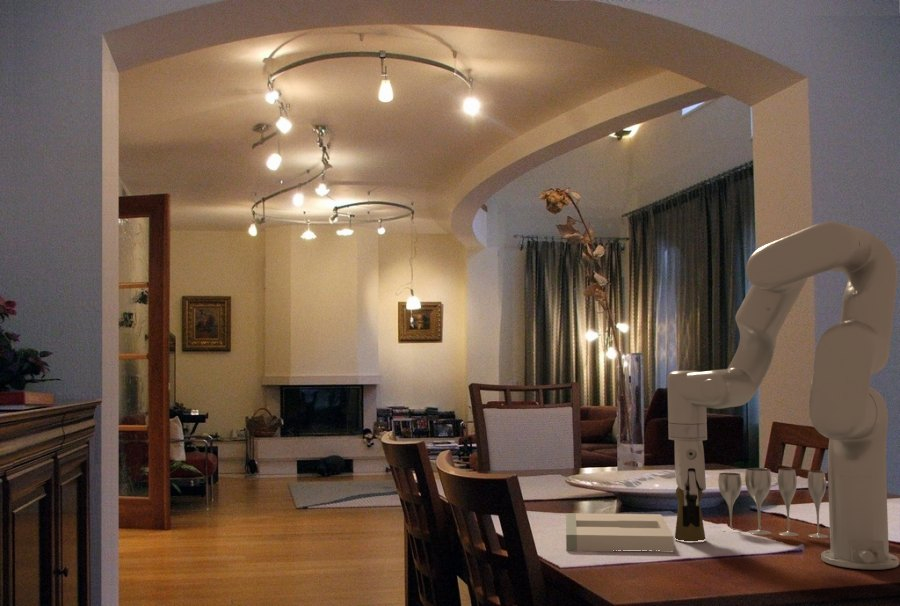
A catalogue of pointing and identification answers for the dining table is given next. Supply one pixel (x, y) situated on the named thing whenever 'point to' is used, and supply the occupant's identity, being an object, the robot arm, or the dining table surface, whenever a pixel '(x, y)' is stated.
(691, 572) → the dining table surface
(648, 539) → the beige flat rimmed tray
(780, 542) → the dining table surface
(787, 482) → the goblet set
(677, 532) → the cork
